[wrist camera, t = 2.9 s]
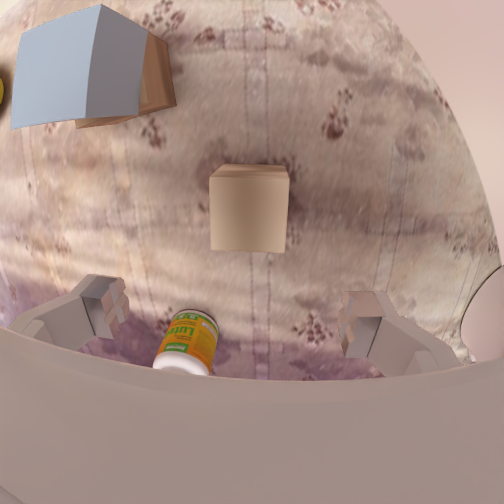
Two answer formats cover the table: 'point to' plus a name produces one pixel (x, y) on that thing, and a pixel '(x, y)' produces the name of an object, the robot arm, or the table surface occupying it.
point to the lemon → (1, 90)
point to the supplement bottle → (188, 344)
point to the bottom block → (146, 85)
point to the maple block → (249, 207)
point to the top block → (78, 68)
